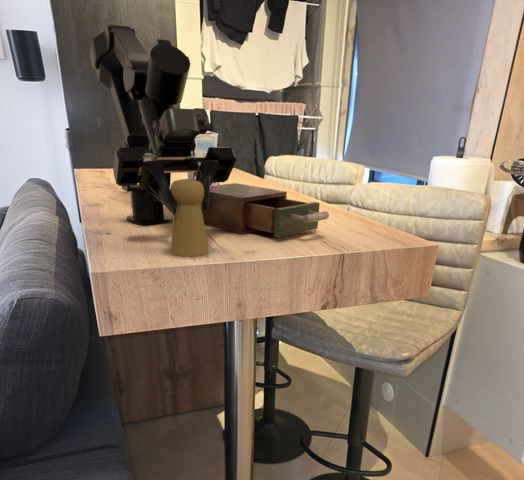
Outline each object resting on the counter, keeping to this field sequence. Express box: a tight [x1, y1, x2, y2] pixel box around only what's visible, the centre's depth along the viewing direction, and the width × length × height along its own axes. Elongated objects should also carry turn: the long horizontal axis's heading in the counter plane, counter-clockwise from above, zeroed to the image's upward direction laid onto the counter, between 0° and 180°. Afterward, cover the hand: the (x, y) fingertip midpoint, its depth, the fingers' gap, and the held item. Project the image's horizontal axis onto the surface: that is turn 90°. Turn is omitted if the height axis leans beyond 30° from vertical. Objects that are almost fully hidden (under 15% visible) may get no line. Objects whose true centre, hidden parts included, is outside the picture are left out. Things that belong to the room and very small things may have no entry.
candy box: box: [186, 130, 220, 186], centre depth 104 cm, size 14×6×16 cm, turn 14°
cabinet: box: [201, 182, 288, 235], centre depth 92 cm, size 15×13×7 cm
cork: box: [170, 178, 209, 258], centre depth 71 cm, size 6×6×11 cm
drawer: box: [245, 197, 330, 239], centre depth 85 cm, size 18×11×5 cm, turn 47°
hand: (190, 211), depth 70 cm, fingers closed on cork, 5 cm apart
